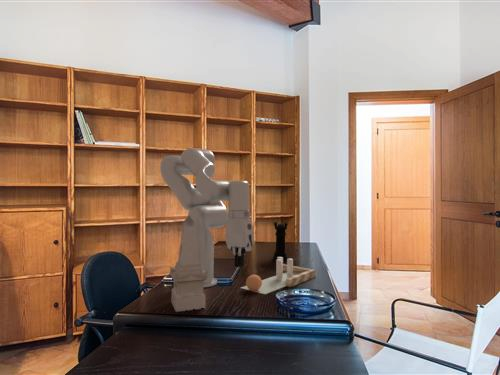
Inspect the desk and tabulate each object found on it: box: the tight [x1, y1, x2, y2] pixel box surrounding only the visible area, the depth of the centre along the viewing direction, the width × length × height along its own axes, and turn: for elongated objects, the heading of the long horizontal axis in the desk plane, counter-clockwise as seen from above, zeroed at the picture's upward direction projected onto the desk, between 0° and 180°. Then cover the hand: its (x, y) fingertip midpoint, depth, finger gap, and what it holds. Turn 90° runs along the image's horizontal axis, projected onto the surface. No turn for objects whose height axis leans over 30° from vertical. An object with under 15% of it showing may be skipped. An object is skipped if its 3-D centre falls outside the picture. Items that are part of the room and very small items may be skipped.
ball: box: [245, 274, 263, 292], centre depth 134 cm, size 6×6×6 cm
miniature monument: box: [169, 215, 207, 312], centre depth 117 cm, size 10×10×30 cm
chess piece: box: [272, 221, 289, 262], centre depth 190 cm, size 8×8×20 cm
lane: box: [240, 272, 298, 295], centre depth 147 cm, size 34×12×1 cm, turn 141°
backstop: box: [283, 263, 317, 288], centre depth 153 cm, size 21×18×3 cm
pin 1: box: [277, 257, 284, 278], centre depth 152 cm, size 2×2×9 cm
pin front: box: [275, 259, 282, 282], centre depth 147 cm, size 2×2×9 cm
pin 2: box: [286, 258, 294, 278], centre depth 149 cm, size 2×2×9 cm
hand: (239, 266), depth 126 cm, fingers closed
